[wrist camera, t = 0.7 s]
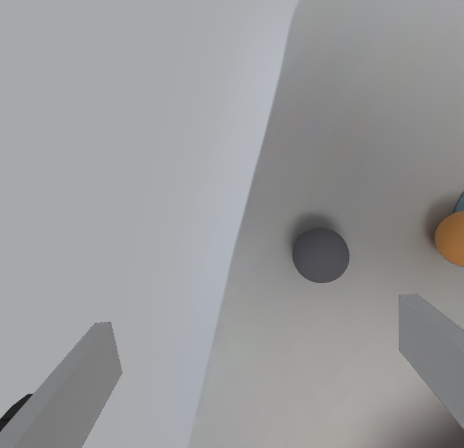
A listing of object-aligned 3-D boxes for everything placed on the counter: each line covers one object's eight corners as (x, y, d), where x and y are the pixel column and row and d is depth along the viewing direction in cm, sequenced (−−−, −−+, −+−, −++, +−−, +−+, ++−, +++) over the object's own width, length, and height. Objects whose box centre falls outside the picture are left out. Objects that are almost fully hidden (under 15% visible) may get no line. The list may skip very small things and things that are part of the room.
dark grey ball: (347, 265, 33) (363, 281, 28) (298, 279, 34) (305, 297, 28) (333, 218, 33) (347, 225, 27) (284, 233, 33) (288, 242, 28)
